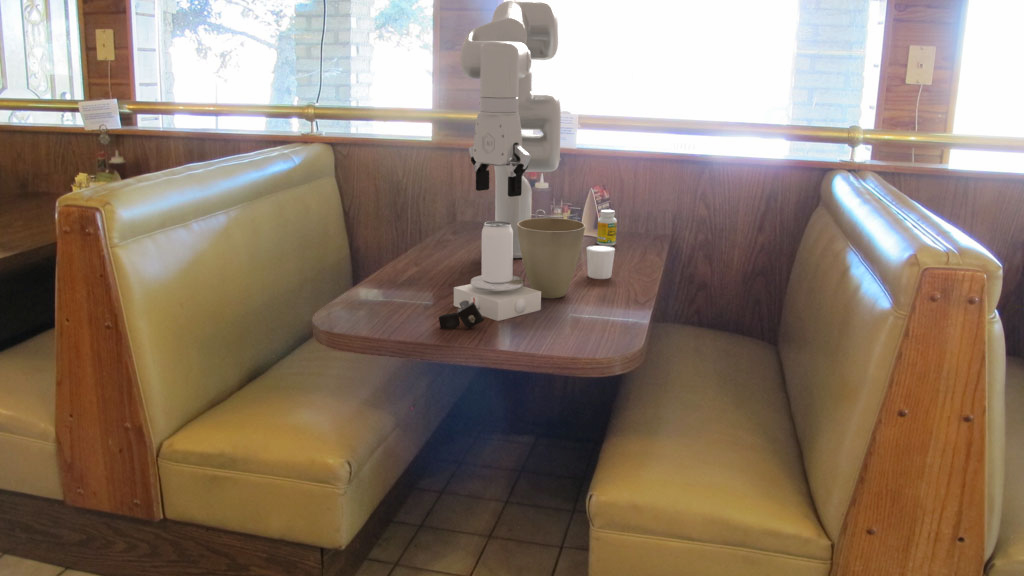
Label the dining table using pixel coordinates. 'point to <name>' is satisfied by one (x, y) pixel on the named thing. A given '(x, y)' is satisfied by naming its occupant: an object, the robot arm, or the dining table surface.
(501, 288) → the scale pan
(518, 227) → the plant pot
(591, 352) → the dining table surface
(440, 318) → the lighter
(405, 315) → the dining table surface
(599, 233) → the supplement bottle
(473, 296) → the scale housing
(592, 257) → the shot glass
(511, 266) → the can
